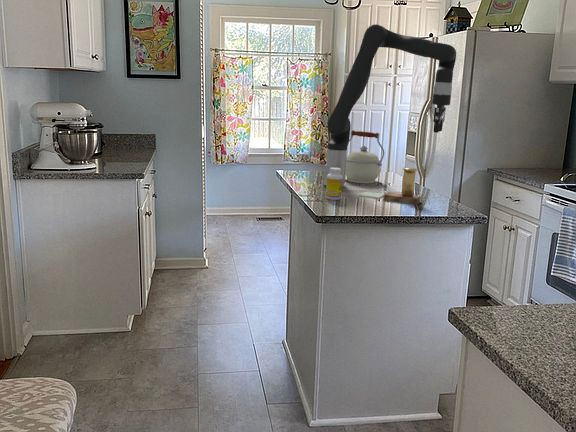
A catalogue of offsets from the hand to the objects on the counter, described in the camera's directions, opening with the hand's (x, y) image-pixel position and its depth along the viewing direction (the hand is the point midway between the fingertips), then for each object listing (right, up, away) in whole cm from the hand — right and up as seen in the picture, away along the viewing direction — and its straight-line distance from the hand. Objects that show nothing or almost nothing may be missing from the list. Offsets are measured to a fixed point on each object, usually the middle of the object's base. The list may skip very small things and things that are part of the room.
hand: (437, 131), depth 243 cm
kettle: (-29, -19, +42) cm, 54 cm away
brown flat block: (-16, -30, -4) cm, 35 cm away
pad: (-28, -28, +4) cm, 39 cm away
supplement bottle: (-46, -29, -7) cm, 55 cm away
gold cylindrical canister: (-14, -28, -6) cm, 32 cm away
